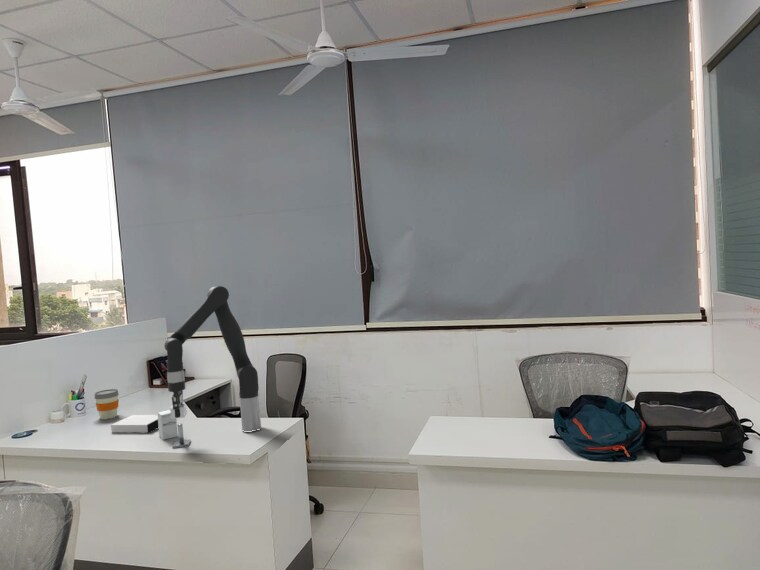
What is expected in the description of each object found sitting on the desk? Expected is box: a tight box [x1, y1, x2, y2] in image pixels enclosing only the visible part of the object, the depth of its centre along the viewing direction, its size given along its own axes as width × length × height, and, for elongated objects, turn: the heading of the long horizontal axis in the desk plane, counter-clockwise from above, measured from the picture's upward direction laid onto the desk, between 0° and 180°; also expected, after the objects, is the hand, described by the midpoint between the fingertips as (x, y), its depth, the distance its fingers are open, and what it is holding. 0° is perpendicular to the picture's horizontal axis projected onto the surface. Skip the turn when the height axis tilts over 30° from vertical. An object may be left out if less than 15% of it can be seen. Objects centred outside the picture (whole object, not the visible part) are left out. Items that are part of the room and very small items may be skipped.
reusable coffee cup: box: [94, 388, 120, 420], centre depth 307 cm, size 12×13×15 cm
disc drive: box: [110, 414, 159, 433], centre depth 282 cm, size 18×22×5 cm
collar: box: [169, 403, 188, 420], centre depth 248 cm, size 6×6×5 cm
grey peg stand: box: [171, 423, 191, 449], centre depth 249 cm, size 7×7×10 cm
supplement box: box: [156, 409, 178, 441], centre depth 263 cm, size 7×7×13 cm
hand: (179, 415), depth 248 cm, fingers closed on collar, 6 cm apart
